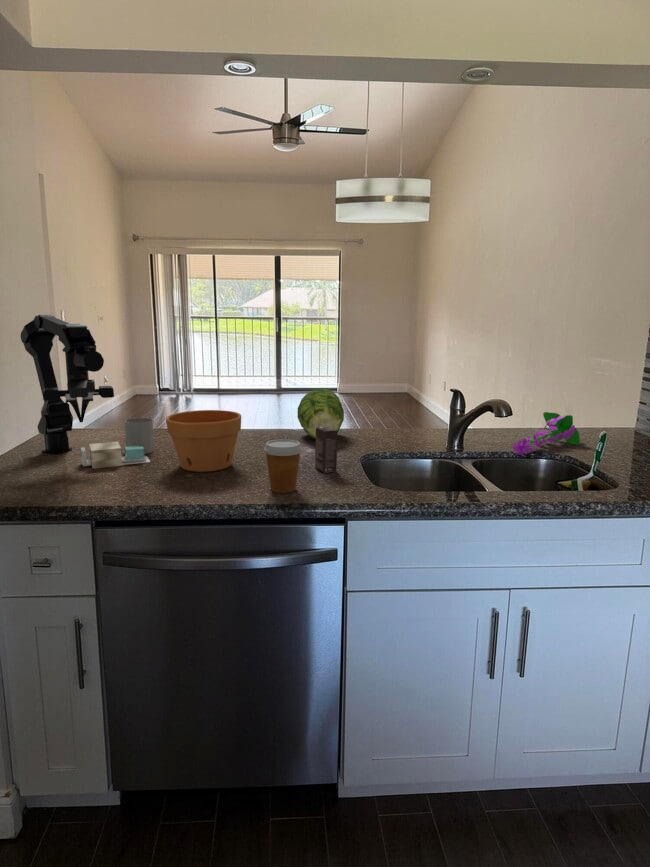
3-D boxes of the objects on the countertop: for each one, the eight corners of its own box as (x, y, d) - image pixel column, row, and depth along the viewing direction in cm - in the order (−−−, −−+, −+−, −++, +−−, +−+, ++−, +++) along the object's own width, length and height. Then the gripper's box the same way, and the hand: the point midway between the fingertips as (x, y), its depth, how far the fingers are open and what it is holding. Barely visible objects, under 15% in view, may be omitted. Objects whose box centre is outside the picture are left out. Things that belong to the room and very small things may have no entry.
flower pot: (153, 470, 164) (150, 419, 160) (194, 453, 183) (192, 407, 180) (219, 479, 157) (217, 425, 153) (254, 460, 176) (253, 412, 173)
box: (337, 471, 165) (338, 429, 163) (323, 473, 163) (323, 431, 161) (328, 466, 170) (328, 425, 168) (314, 467, 168) (314, 427, 166)
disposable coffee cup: (271, 496, 143) (271, 449, 140) (259, 485, 151) (259, 440, 149) (307, 492, 146) (307, 445, 144) (294, 481, 155) (294, 437, 152)
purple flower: (576, 452, 207) (532, 479, 183) (539, 424, 214) (491, 446, 190) (597, 426, 200) (553, 451, 176) (557, 397, 207) (510, 417, 183)
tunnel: (92, 468, 165) (91, 450, 164) (90, 461, 173) (89, 444, 172) (122, 465, 168) (121, 448, 167) (118, 458, 176) (117, 441, 175)
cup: (145, 455, 181) (144, 423, 178) (121, 453, 182) (119, 422, 180) (158, 448, 189) (157, 418, 186) (135, 447, 190) (133, 417, 188)
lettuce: (321, 463, 198) (289, 429, 192) (316, 436, 219) (287, 405, 213) (359, 432, 195) (328, 398, 189) (350, 408, 216) (322, 376, 210)
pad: (122, 464, 169) (122, 464, 169) (119, 459, 176) (119, 458, 175) (150, 462, 172) (150, 461, 172) (146, 456, 179) (146, 455, 179)
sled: (83, 466, 166) (81, 451, 165) (82, 462, 170) (80, 447, 169) (146, 460, 173) (145, 445, 172) (144, 456, 177) (143, 442, 176)
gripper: (39, 372, 156) (44, 429, 159) (113, 370, 163) (116, 425, 166) (41, 368, 166) (46, 422, 169) (111, 366, 173) (114, 418, 176)
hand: (81, 422), depth 170 cm, fingers closed
